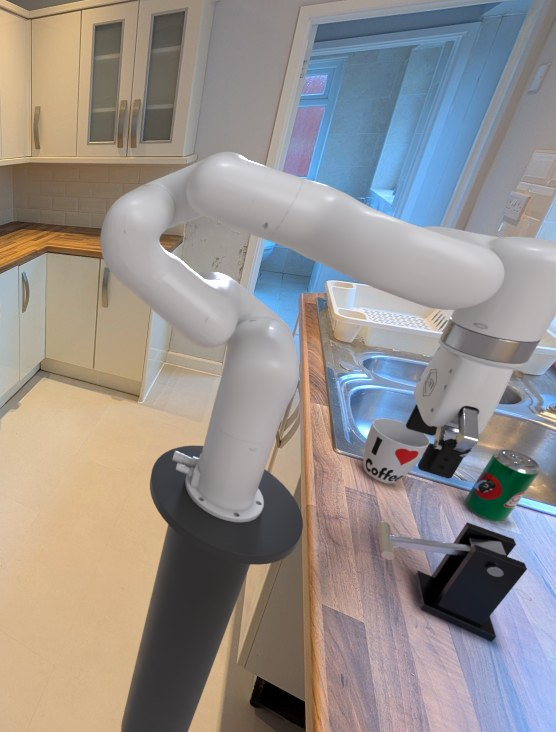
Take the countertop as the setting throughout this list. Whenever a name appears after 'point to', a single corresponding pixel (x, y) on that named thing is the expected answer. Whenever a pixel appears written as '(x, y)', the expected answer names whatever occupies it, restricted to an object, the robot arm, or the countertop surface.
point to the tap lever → (429, 544)
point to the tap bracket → (470, 583)
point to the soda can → (501, 485)
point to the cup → (392, 450)
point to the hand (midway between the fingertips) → (425, 450)
